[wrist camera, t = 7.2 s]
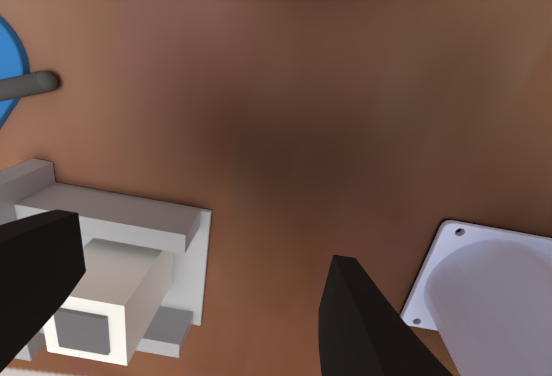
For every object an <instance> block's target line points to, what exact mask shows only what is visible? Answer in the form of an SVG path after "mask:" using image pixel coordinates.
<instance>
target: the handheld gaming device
mask: <svg viewBox="0 0 552 376" xmlns="http://www.w3.org/2000/svg"><path fill="white" fill-rule="evenodd" d="M29 73H30V71H29V62H28V57H27V54H26V51H25V49H24V47H23V45H22V42H21V41H20V39H19V37H18V36H17V34H16V33H15V31H14V30H13V29H12V28H11V26H10V25H9V24H8V23H7V22H6V21H5V20H4V19H3V18H2V17H1V16H0V80H2V79H6V78H11V77H15V76H20V75H25V74H29ZM20 98H21V97H20ZM20 98H15V99H10V100H5V101H1V102H0V128H1V127H2V125H3V124H4V122H5V121H6V119H7V118H8V116H9V115H10V113H11V112H12V110H13V109H14V107H15V106H16V104H17V103H18V101H19V100H20Z"/></svg>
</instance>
